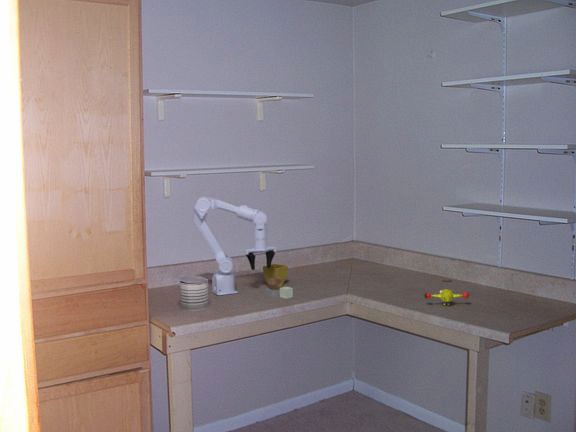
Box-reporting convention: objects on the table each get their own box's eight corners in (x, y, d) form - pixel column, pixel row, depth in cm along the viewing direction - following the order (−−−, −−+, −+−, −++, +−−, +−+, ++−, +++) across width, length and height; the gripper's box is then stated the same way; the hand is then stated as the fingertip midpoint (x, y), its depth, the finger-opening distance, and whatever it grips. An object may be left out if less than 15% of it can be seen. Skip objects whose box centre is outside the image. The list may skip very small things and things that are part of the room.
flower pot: (277, 287, 289) (276, 268, 288) (262, 285, 294) (262, 266, 293) (288, 284, 296) (288, 265, 295) (274, 282, 301) (273, 263, 300)
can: (194, 302, 263) (193, 274, 262) (214, 306, 257) (213, 277, 256) (174, 308, 254) (173, 279, 253) (195, 312, 248) (194, 282, 246)
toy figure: (466, 303, 258) (467, 287, 257) (470, 307, 253) (470, 290, 252) (422, 304, 258) (422, 287, 257) (425, 307, 253) (425, 290, 252)
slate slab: (272, 297, 272) (272, 291, 271) (265, 295, 277) (265, 288, 276) (284, 295, 275) (283, 289, 275) (276, 293, 280) (276, 286, 280)
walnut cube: (273, 290, 272) (273, 280, 272) (268, 288, 276) (268, 278, 276) (282, 289, 275) (282, 279, 274) (277, 287, 279) (277, 277, 278)
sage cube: (286, 298, 269) (286, 289, 269) (279, 297, 272) (279, 288, 271) (292, 297, 272) (292, 288, 271) (286, 295, 275) (286, 286, 274)
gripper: (249, 241, 272) (249, 272, 273) (278, 238, 279) (279, 268, 280) (242, 238, 278) (243, 269, 280) (271, 236, 285) (272, 265, 286)
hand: (260, 268), depth 280 cm, fingers open, 7 cm apart
